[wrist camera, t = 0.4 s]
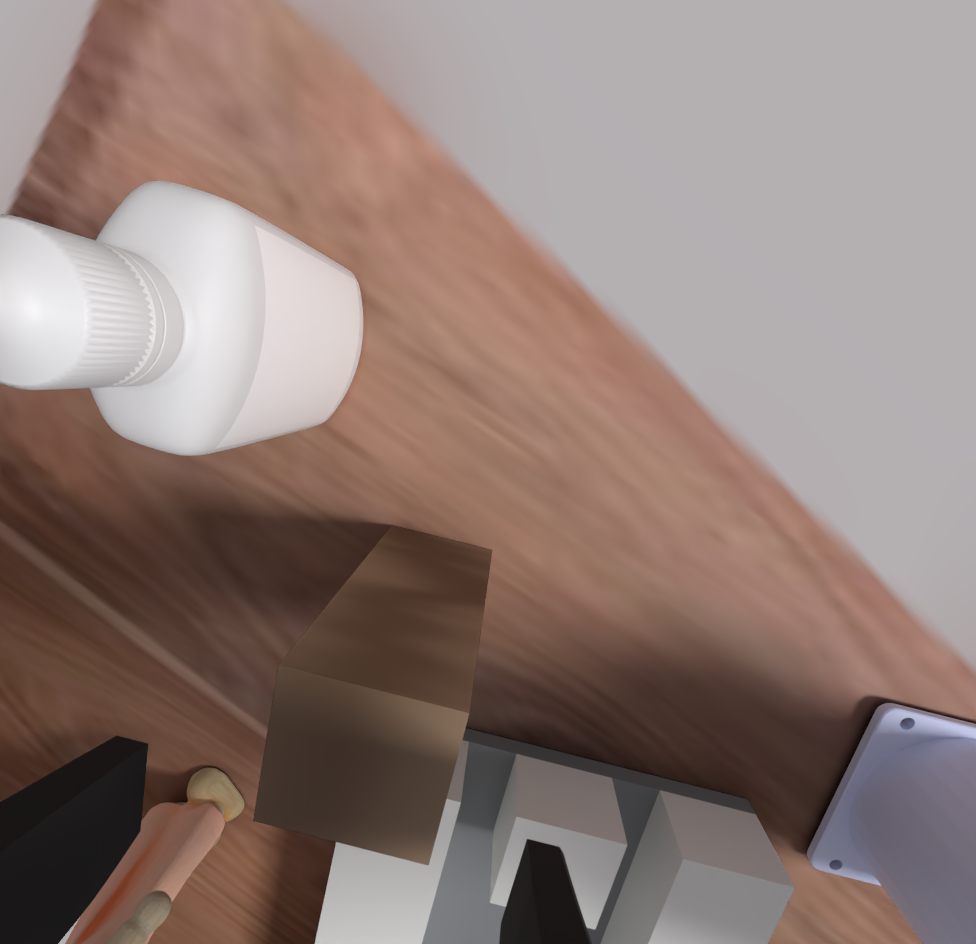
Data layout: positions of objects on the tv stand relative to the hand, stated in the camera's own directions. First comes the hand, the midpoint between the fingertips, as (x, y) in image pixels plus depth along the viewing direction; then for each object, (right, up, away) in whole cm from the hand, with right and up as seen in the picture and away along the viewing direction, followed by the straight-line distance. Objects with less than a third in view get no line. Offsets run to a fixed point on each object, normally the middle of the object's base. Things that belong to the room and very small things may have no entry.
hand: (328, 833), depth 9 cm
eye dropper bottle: (-3, +11, +9) cm, 15 cm away
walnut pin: (+1, +2, +10) cm, 10 cm away
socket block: (+4, -13, +13) cm, 19 cm away
